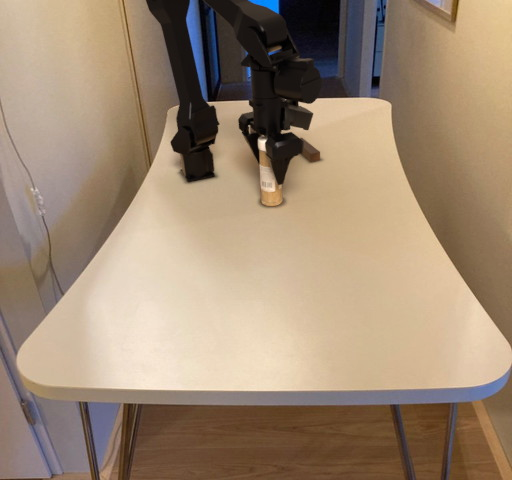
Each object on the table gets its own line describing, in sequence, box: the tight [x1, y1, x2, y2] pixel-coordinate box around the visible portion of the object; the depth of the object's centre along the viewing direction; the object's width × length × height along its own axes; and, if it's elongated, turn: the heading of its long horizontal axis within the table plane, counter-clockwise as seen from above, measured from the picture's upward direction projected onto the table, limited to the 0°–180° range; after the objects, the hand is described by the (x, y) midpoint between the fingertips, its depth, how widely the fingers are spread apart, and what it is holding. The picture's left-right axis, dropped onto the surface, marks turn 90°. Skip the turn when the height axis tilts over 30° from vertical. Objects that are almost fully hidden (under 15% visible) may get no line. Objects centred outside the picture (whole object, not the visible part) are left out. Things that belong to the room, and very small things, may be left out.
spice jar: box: [258, 136, 283, 207], centre depth 109 cm, size 5×5×14 cm
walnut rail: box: [299, 137, 321, 163], centre depth 131 cm, size 2×10×2 cm, turn 21°
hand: (271, 175), depth 110 cm, fingers open, 9 cm apart
